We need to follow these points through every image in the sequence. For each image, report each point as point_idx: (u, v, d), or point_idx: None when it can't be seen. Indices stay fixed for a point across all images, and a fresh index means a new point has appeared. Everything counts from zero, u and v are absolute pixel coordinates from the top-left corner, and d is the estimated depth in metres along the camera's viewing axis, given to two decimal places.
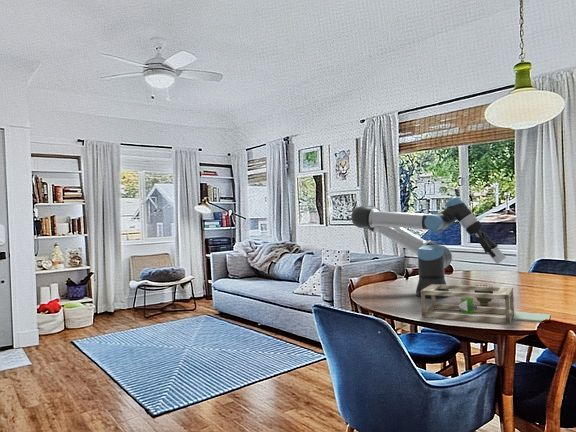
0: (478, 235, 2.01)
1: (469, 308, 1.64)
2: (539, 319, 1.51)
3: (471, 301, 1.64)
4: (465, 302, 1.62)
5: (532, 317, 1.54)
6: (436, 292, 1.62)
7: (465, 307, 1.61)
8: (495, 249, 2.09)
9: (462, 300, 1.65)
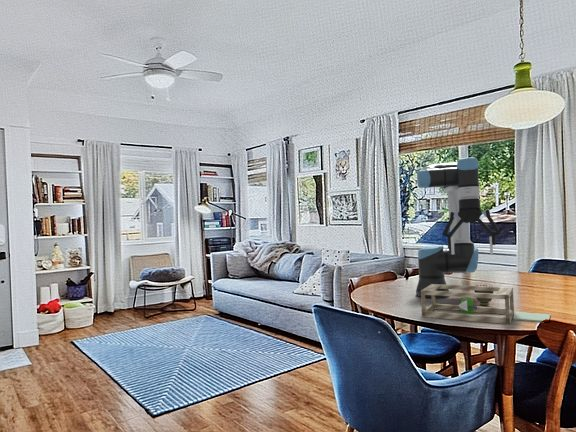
0: None
1: (469, 308, 1.64)
2: (539, 319, 1.51)
3: (471, 301, 1.64)
4: (465, 302, 1.62)
5: (532, 317, 1.54)
6: (436, 292, 1.62)
7: (465, 307, 1.61)
8: (489, 238, 1.62)
9: (462, 300, 1.66)
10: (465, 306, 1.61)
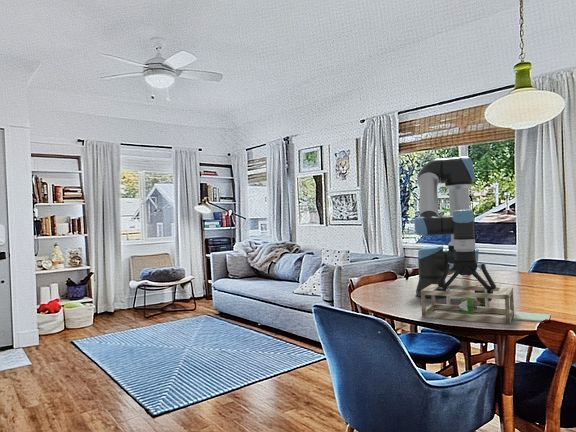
0: None
1: (469, 308, 1.64)
2: (539, 319, 1.51)
3: (471, 301, 1.64)
4: (465, 302, 1.62)
5: (532, 317, 1.54)
6: (436, 292, 1.62)
7: (465, 307, 1.61)
8: (485, 292, 1.60)
9: (462, 300, 1.65)
10: (465, 306, 1.61)
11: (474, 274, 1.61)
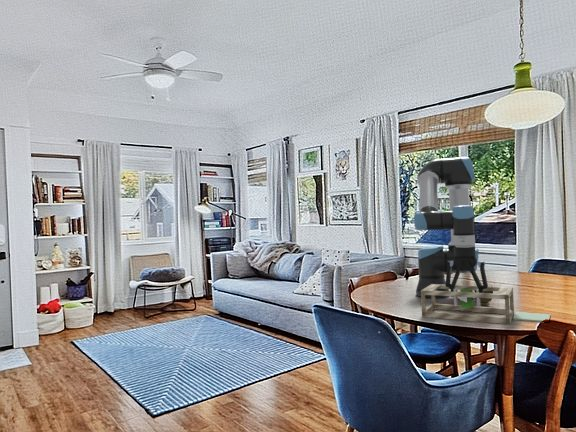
0: None
1: (469, 299, 1.64)
2: (539, 319, 1.51)
3: (471, 292, 1.65)
4: None
5: (532, 317, 1.54)
6: (436, 292, 1.62)
7: (465, 299, 1.61)
8: None
9: None
10: (465, 298, 1.61)
11: (471, 271, 1.62)
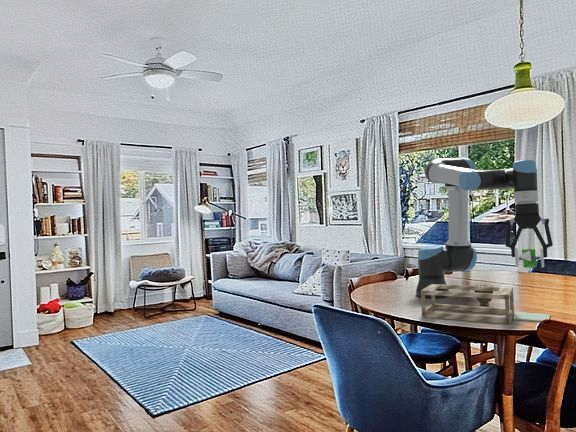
0: (507, 224, 1.59)
1: (531, 259, 1.56)
2: (539, 319, 1.51)
3: (533, 252, 1.56)
4: (528, 252, 1.54)
5: (532, 317, 1.54)
6: (436, 292, 1.62)
7: (528, 257, 1.53)
8: None
9: (523, 251, 1.58)
10: (528, 256, 1.53)
11: (535, 228, 1.53)
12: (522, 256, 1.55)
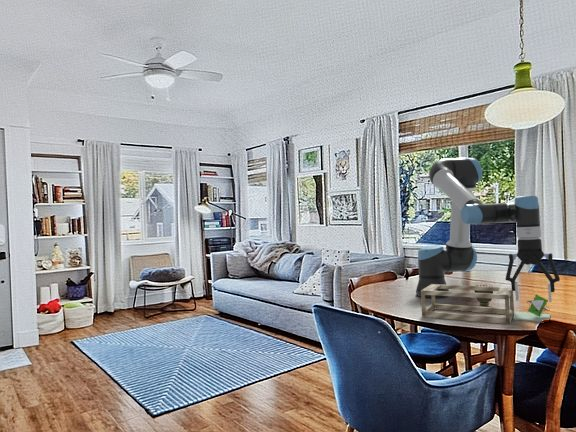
0: None
1: None
2: (539, 319, 1.51)
3: (544, 302, 1.55)
4: (541, 302, 1.52)
5: (532, 317, 1.54)
6: (436, 292, 1.62)
7: (538, 306, 1.52)
8: None
9: (536, 297, 1.56)
10: (539, 305, 1.51)
11: (539, 264, 1.53)
12: (533, 302, 1.53)
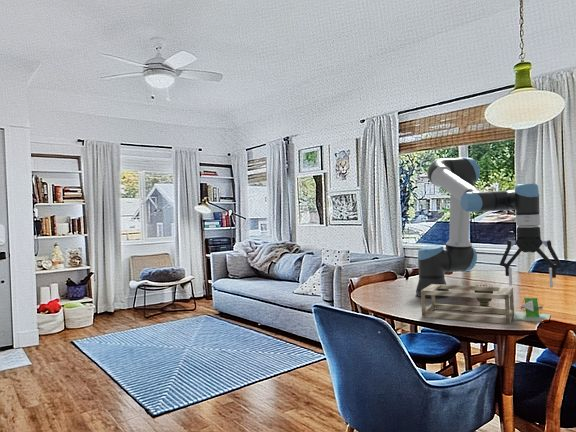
0: None
1: (534, 308, 1.56)
2: (539, 319, 1.51)
3: (535, 301, 1.56)
4: (530, 302, 1.54)
5: (532, 317, 1.54)
6: (436, 292, 1.62)
7: (531, 307, 1.53)
8: (549, 270, 1.53)
9: (525, 300, 1.58)
10: (531, 306, 1.53)
11: (539, 251, 1.53)
12: (525, 305, 1.55)
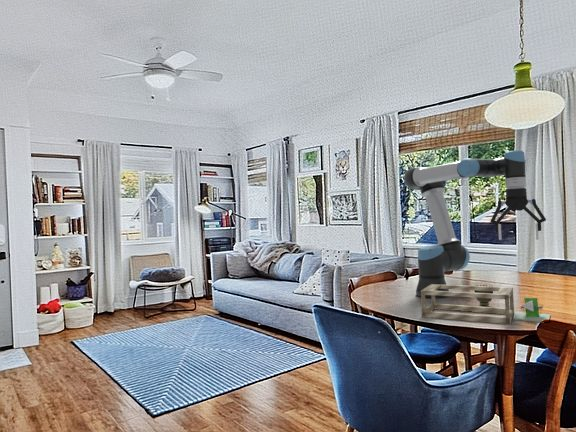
0: (498, 204, 1.83)
1: (534, 308, 1.56)
2: (539, 319, 1.51)
3: (535, 301, 1.56)
4: (530, 302, 1.54)
5: (532, 317, 1.54)
6: (436, 292, 1.62)
7: (531, 307, 1.53)
8: None
9: (525, 300, 1.58)
10: (531, 306, 1.53)
11: (525, 209, 1.76)
12: (525, 305, 1.55)
